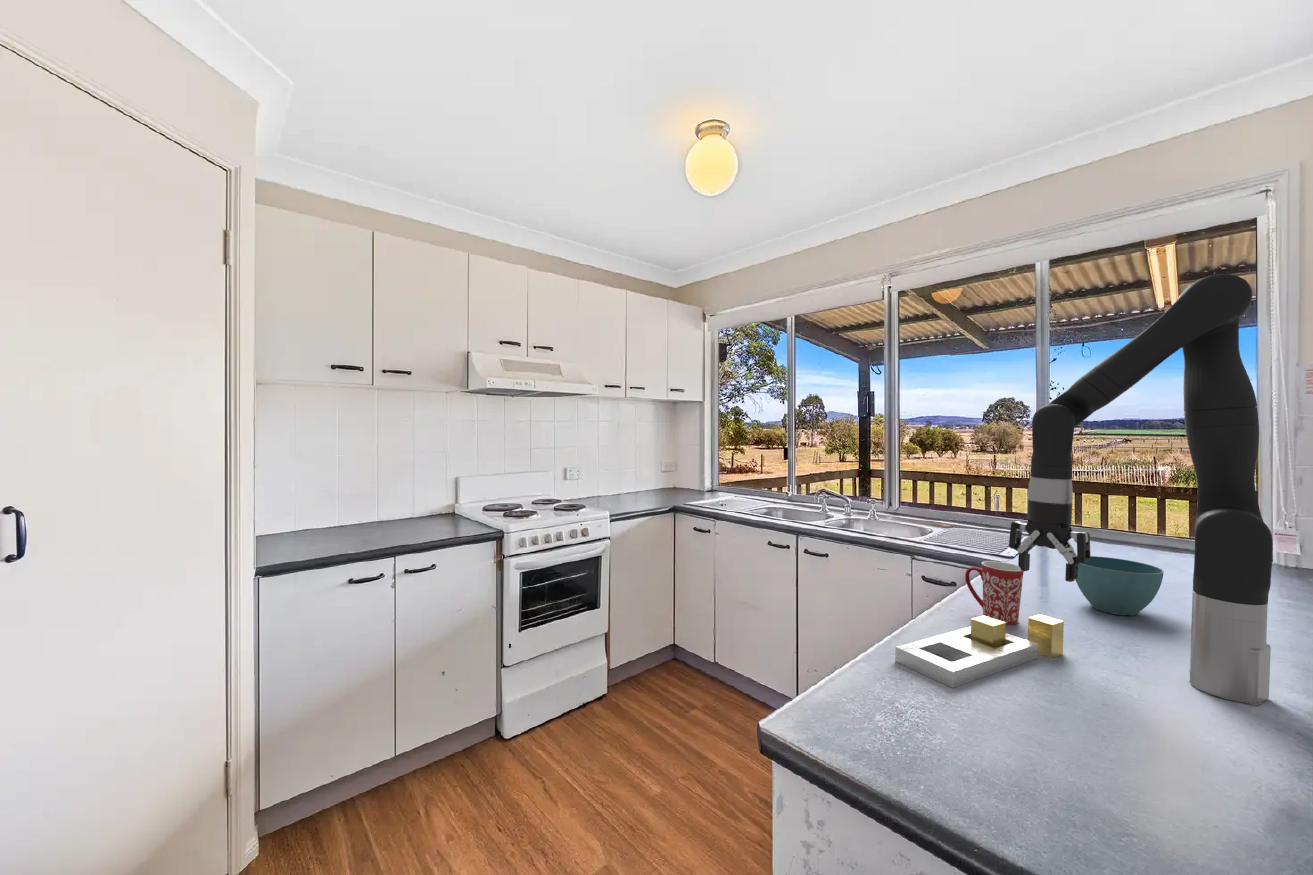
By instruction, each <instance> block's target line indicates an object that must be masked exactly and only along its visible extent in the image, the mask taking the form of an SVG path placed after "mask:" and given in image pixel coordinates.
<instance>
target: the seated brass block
mask: <svg viewBox="0 0 1313 875" xmlns="http://www.w3.org/2000/svg"><path fill="white" fill-rule="evenodd" d="M1006 625H1007V624H1006V622H1003V621H1000V620H997V619H994V618H990V617H987V616H984V615H983V614H982V615H980V616H976V617H972V618H970V626H971V640H973V641H976V642H979V643H981V644H984V645H987V646H990V647H992V648H995V649H996V648H999V647H1002V646H1005V633H1007V632H1006V631H1007V630H1006V629H1007V627H1006Z"/></svg>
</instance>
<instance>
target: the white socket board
mask: <svg viewBox="0 0 1313 875" xmlns="http://www.w3.org/2000/svg"><path fill="white" fill-rule="evenodd" d="M1037 652H1038V644H1037V643H1034V642H1031V641H1028V639H1024V638H1021V637H1019V636H1016V635H1013V634H1011V633H1010V634H1009V633H1007V632H1006V633H1005V646H1002V647H999V648H996V649H995V648H992V647H990V646H987V645H984V644H981V643H979V642H976V641H973V640H971V625H970V626H967V627H963V628H960V629H956V630H951V631H949V632H945V633H941V634H937V635H934V636H930V637H928V638H923V639H919V640H916V641H912V642H909V643H905V644H900V645H897V646H895V659H894V661H895V662H896V663H897V664H900V665H902V666H903V667H906V668H909V669H910V670H913V671H915V672H918V673H919V674H921V675H924V676H926V677H927V678H929V679H932V680H934V681H937V682H939V683H941V684H943V685H945V686H947V687H950V688H952V689H954V688H957V687H959V686H962V685H966V684H968V683H971V682H973V681H977V680H980V679H982V678H985V677H989V676H991V675H993V674H997V673H999V672H1002V671H1005V670H1008V669H1011V668H1013V667H1016V666H1019V665H1022V664H1024V663H1028V662H1030V661H1031V662H1032V661H1034V660H1035V659H1038V653H1037Z"/></svg>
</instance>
